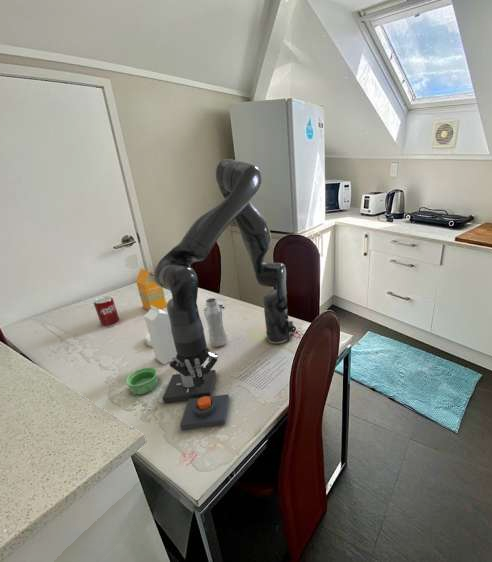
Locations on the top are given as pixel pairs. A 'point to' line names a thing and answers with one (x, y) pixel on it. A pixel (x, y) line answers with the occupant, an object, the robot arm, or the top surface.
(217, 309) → the plastic bottle
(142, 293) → the orange juice
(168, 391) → the brew base
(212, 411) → the button block
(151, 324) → the milk
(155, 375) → the ramekin
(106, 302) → the soda can
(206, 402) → the power button
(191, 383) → the brew dial
